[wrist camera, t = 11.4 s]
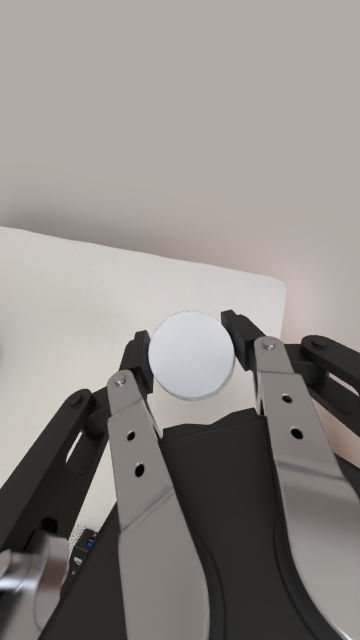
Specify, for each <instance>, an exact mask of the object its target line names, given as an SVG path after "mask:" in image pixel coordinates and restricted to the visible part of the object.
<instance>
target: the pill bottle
mask: <svg viewBox="0 0 360 640" xmlns="http://www.w3.org/2000/svg"><path fill="white" fill-rule="evenodd" d="M148 357H149V364H150V367H151V370H152V373H153V375H154V376H155V378H156V380H157V382H158V383H159V384H160V386H161V387H162V388H163V389H164V390H165V391H166V392H168V393H169V394H171V395H173V396H175V397H177V398H179V399H182V400H187V401H200V400H204V399H207V398H210V397H212V396H214V395H216V394H217V393H219V392H220V391H221V390H222V389H223V388H224V387H225V386H226V384H227V383H228V381H229V380H230V378H231V376H232V373H233V370H234V366H235V351H234V346H233V343H232V341H231V338H230V336H229V334H228V332H227V331H226V329H225V328H224V327H223V325H222V324H220V323H219V322H218V321H217V320H216V319H214V318H213V317H211V316H209V315H207V314H205V313H201V312H196V311H184V312H180V313H177V314H174V315H172V316H170V317H168V318H167V319H166V320H164V321H163V322H162V323H161V324H160V325H159V326H158V327H157V329H156V330H155V332H154V334H153V336H152V338H151V341H150V345H149V351H148Z"/></svg>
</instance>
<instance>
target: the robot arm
mask: <svg viewBox="0 0 360 640" xmlns="http://www.w3.org/2000/svg"><path fill="white" fill-rule="evenodd" d="M221 323H222V325H223V327H224V328H225V329H226V331H227V332H228V334H229V336H230V338H231V341H232V343H233V346H234V351H235V356H236V357H237V359H238V361H239V362H240V364H241V366H242V367H243V369H244V371H248V370H251V371H252V372H253V382H254V391H255V400H256V410H255V408H254V407H253V408H249V409H245V410H241V411H237V412H232V413H230V414H228V415H227V416H225V417H223V418H221V419H220V420H218V421H216V422H214V423H213V424H210V425H203V424H182V425H177V426H173V427H169V428H165V429H163V437H162V435H161V433H160V431H159V429H158V426H157V424H156V421H155V419H154V416H153V414H152V412H151V409H150V407H149V404H148V402H147V394H150V393H153V379H154V375H153V373H152V370H151V367H150V364H149V357H148V351H149V345H150V341H151V340H150V337H149V334H148V332H147V330H144V331H140V332H136V333H135V338H134V340H131V341H130V342H129V343H128V344H127V345H126V348H125V352H124V354H123V358H122V361H121V364H120V368H119V371H118V372H117V373H115V374H114V375H113V376H112V377H111V378H110V379H109V380H108V382H107V386H106V387H104V388H102V389H100V390H98V391H96V392H94V393H91V391H90V390H88V389H81V390H78V391H76V392H75V393H73V394H72V395H70V396H69V397H68V398H67V399H66V400H65V402H64V403H63V404H62V406H61V407H60V408H59V410H58V411H57V413H56V414H55V415H54V417H53V418H52V419H51V421H50V422H49V423H48V425H47V426H46V428H45V429H44V430H43V432H42V433H41V434H40V436H39V437H38V439H37V440H36V441H35V443H34V444H33V445H32V447H31V448H30V449H29V451H28V452H27V454H26V455H25V456H24V458H23V459H22V460H21V462H20V463H19V465H18V466H17V467H16V469H15V470H14V471H13V473H12V474H11V475H10V477H9V478H8V480H7V481H6V482H5V484H4V485H3V486H2V488H1V489H0V640H360V468H358V467H356V466H354V465H353V464H352V463H350V462H348V461H347V460H345V459H343V458H342V457H340V456H339V455H337V454H336V453H334V452H333V450H332V448H331V445H330V443H329V441H328V438H327V436H326V434H325V431H324V428H323V426H322V424H321V421H320V419H319V416H318V414H317V411H316V409H315V407H314V405H313V402H312V399H311V397H312V398H313V399H314V400H316V401H317V402H318V403H319V404H320V405H322V406H323V407H324V408H325V409H326V410H328V411H329V412H330V413H331V414H332V415H334V416H335V417H336V418H337V419H338V420H339V421H341V422H342V423H343V424H344V425H345V426H347V427H348V428H349V429H350V430H351V431H353V432H354V433H355V434H356V435H357V436H358V437H360V353H359V352H356V351H354V350H352V349H350V348H348V347H346V346H344V345H342V344H340V343H338V342H336V341H334V340H331V339H329V338H327V337H323V336H318V335H309V336H305V337H304V338H303V339H302V341H301V344H283V343H282V341H280V340H279V339H277V338H274V337H270V336H266V335H265V334H264V333H263V332H262V331H261V330H260V329H259V328H258V327H257V326H256V325H254V324H253V323H252V322H251V321H250V320H249V319H248V318H247V317H246V316H243V315H241V314H240V315H236V314H235V312H234V311H233V310H227V311H223V312H221ZM330 373H332V374H333V375H335V376H336V377H338V378H339V379H341V380H342V381H344V382H346V383H347V384H349V385H350V386H352V387H353V388H354V389H355V390H356V391H357V392H358V394H359V396H357V395H356V394H354V393H353V392H351V391H350V390H348V389H347V388H345V387H344V386H342V385H341V384H339V383H338V382H336V381H335V380H333V379H332V378H330V377H329V374H330ZM310 396H311V397H310ZM79 432H81V433H82V435H81V437H80V439H79V441H78V443H77V444H76V446H75V448H74V450H73V452H72V454H71V456H70V457H69V459H68V461H67V463H66V458H67V455H68V453H69V451H70V449H71V447H72V445H73V443H74V442H75V440H76V438H77V436H78V434H79ZM108 439H109V441H110V449H111V457H112V465H113V473H114V481H115V489H116V497H117V501H116V503H115V505H114V507H113V508H112V510H111V512H110V513H109V515H108V517H107V519H106V520H105V522H104V524H103V526H102V527H101V529H100V531H99V533H98V534H97V536H96V538H95V540H94V541H93V543H92V545H91V547H90V548H89V550H88V552H87V553H86V555H85V557H84V559H83V560H82V562H81V564H80V566H79V567H78V569H77V571H76V573H75V574H74V576H73V578H72V580H71V581H70V583H69V585H68V587H67V588H66V590H65V592H64V593H63V595H62V597H61V599H60V590H61V586H62V585H63V584H64V582H65V580H66V578H67V575H68V571H69V561H68V558H69V544H68V540H69V537H70V535H71V532H72V530H73V527H74V525H75V522H76V520H77V517H78V515H79V512H80V510H81V507H82V505H83V502H84V500H85V497H86V495H87V492H88V490H89V487H90V485H91V482H92V480H93V477H94V475H95V472H96V470H97V467H98V465H99V462H100V459H101V457H102V454H103V452H104V449H105V447H106V444H107V442H108Z"/></svg>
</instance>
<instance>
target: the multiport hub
mask: <svg viewBox="0 0 360 640" xmlns="http://www.w3.org/2000/svg"><path fill="white" fill-rule="evenodd" d="M97 534H98V533H95V532H93V531H91V530H89V529H85V530H84V532H83V533H82V535H81V536H80V538H79V540H78V541H77V543H76V544H75V546H74V547H73V550H72V553H71V556H70V559H69V571H68V575H67V578H66V580H65V582H64V584H63V585H62V586H61V590H60V599H61V597H62V595H63V593H64V592H65V590H66V588H67V587H68V585H69V583H70V581H71V580H72V578H73V576H74V574H75V573H76V571H77V569H78V567H79V566H80V564H81V562H82V560H83V559H84V557H85V555H86V553H87V552H88V550H89V548H90V547H91V545H92V543H93V541H94V540H95V538H96V536H97Z"/></svg>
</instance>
